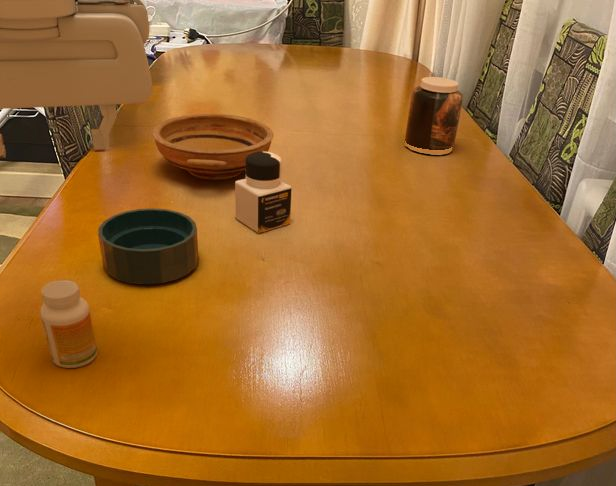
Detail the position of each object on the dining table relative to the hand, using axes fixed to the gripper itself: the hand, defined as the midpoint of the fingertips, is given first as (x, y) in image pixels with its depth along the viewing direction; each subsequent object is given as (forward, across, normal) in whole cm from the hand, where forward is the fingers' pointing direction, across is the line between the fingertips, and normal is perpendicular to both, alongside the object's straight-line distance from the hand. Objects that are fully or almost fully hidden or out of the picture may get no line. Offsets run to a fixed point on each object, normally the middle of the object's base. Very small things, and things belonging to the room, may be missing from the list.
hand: (50, 153), depth 59 cm
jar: (+26, -82, -63) cm, 107 cm away
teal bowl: (+26, -10, -22) cm, 36 cm away
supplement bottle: (+26, +2, -2) cm, 26 cm away
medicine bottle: (+26, -31, -33) cm, 52 cm away
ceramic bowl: (+26, -29, -59) cm, 71 cm away
